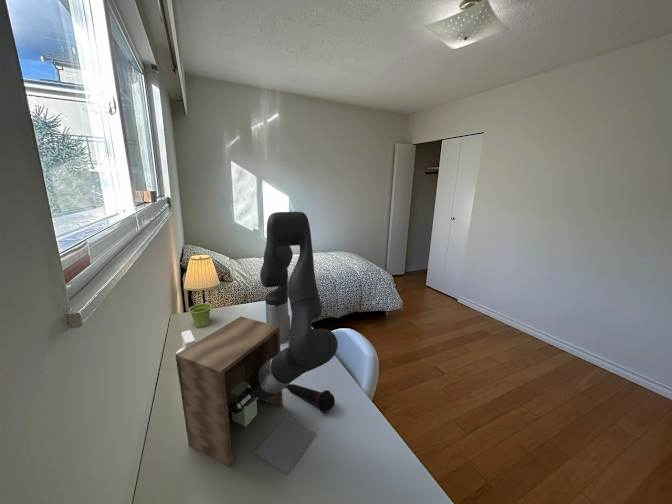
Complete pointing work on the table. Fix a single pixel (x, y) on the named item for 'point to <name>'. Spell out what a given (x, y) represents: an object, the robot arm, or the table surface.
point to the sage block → (249, 411)
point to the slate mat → (286, 445)
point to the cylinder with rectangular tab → (186, 340)
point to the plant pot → (200, 314)
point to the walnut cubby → (222, 380)
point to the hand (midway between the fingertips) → (238, 402)
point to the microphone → (314, 396)
